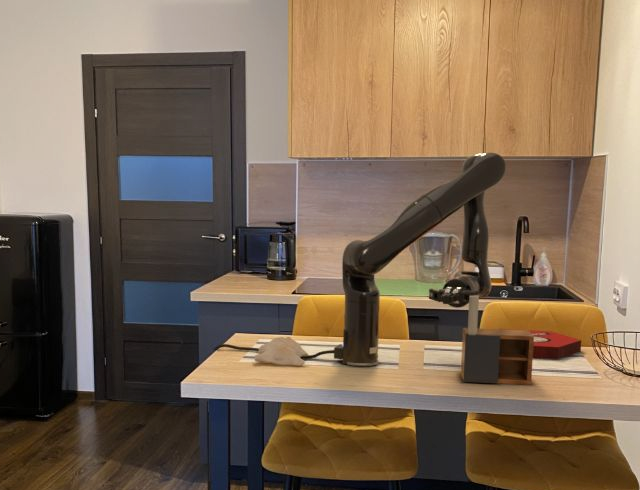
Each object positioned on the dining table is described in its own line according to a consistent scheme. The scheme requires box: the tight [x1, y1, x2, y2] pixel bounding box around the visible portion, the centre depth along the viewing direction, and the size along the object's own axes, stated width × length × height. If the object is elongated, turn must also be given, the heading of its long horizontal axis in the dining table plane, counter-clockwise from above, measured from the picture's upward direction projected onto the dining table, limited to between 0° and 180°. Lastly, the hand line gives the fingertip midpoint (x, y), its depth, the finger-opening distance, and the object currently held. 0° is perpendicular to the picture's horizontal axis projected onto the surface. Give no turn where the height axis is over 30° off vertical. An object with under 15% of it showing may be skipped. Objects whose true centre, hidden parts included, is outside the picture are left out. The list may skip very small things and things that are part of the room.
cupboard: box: [460, 327, 534, 386], centre depth 183 cm, size 16×8×12 cm, turn 81°
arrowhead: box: [254, 336, 309, 367], centre depth 210 cm, size 14×5×30 cm
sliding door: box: [462, 296, 500, 384], centre depth 178 cm, size 8×2×21 cm, turn 81°
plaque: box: [504, 328, 582, 361], centre depth 221 cm, size 27×4×30 cm
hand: (446, 299), depth 176 cm, fingers closed
